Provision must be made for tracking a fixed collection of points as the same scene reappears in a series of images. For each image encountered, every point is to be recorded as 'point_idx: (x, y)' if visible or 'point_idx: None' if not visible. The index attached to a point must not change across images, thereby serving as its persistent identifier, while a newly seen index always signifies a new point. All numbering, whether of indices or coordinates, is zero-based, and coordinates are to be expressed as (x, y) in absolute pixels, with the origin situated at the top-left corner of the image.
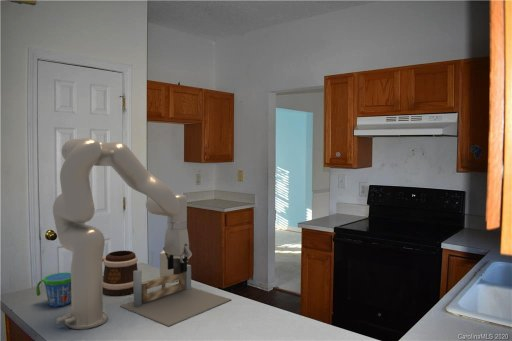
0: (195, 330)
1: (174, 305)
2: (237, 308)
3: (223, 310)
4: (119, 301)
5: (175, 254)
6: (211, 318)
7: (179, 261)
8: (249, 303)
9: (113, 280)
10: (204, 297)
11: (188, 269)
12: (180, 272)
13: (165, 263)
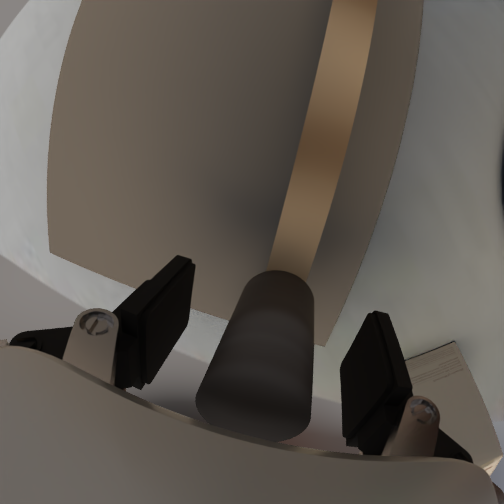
0: (38, 9)
1: (174, 64)
2: (15, 197)
3: (27, 158)
4: (478, 34)
5: (96, 404)
6: (28, 86)
7: (204, 378)
8: (18, 249)
9: None
10: (119, 227)
11: None
12: (182, 256)
13: (457, 421)
